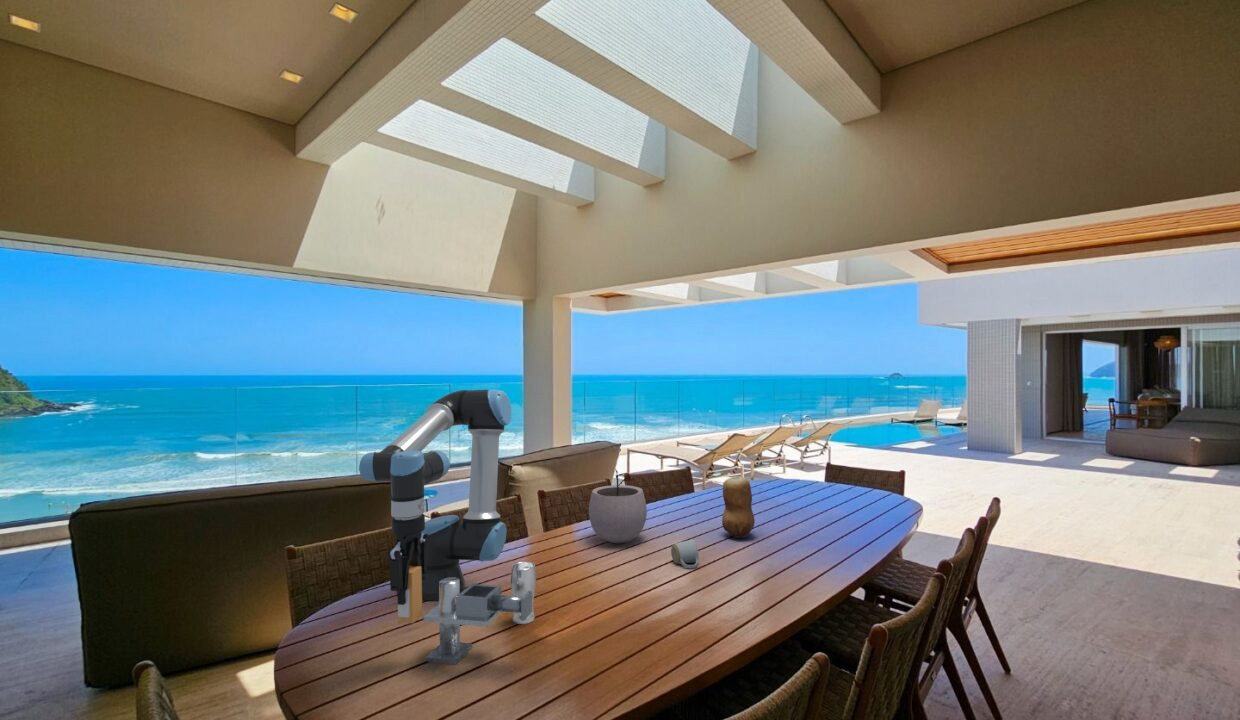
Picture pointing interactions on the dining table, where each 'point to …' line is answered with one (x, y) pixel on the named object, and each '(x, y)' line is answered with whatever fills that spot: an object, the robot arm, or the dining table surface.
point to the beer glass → (523, 586)
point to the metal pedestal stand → (451, 624)
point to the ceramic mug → (685, 553)
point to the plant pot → (617, 512)
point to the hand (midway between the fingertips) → (410, 611)
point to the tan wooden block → (414, 595)
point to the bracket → (490, 602)
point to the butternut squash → (737, 507)
